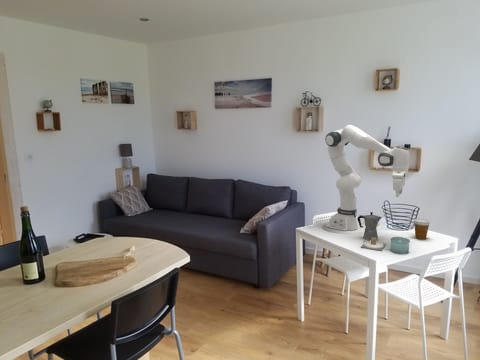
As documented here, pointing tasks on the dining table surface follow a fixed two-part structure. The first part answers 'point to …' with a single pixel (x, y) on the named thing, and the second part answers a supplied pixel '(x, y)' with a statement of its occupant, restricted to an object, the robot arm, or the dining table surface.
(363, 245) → the mat
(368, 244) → the lid
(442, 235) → the dining table surface
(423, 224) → the disposable coffee cup
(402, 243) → the crock
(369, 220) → the coffeepot
